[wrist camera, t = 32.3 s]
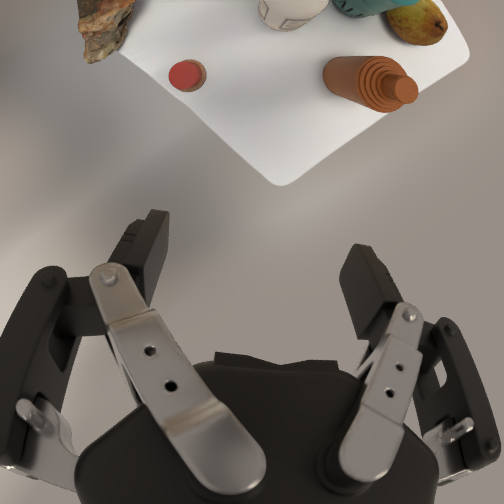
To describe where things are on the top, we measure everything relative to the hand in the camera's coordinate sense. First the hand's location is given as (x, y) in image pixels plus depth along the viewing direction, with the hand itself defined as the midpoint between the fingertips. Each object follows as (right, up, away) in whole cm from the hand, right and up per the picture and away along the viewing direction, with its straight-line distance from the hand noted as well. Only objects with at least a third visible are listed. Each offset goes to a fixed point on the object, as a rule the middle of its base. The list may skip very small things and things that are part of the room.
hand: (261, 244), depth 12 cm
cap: (-9, +25, +22) cm, 34 cm away
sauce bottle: (+13, +25, +23) cm, 36 cm away
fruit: (+23, +35, +16) cm, 45 cm away
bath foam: (+4, +33, +17) cm, 37 cm away
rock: (-19, +32, +17) cm, 41 cm away
